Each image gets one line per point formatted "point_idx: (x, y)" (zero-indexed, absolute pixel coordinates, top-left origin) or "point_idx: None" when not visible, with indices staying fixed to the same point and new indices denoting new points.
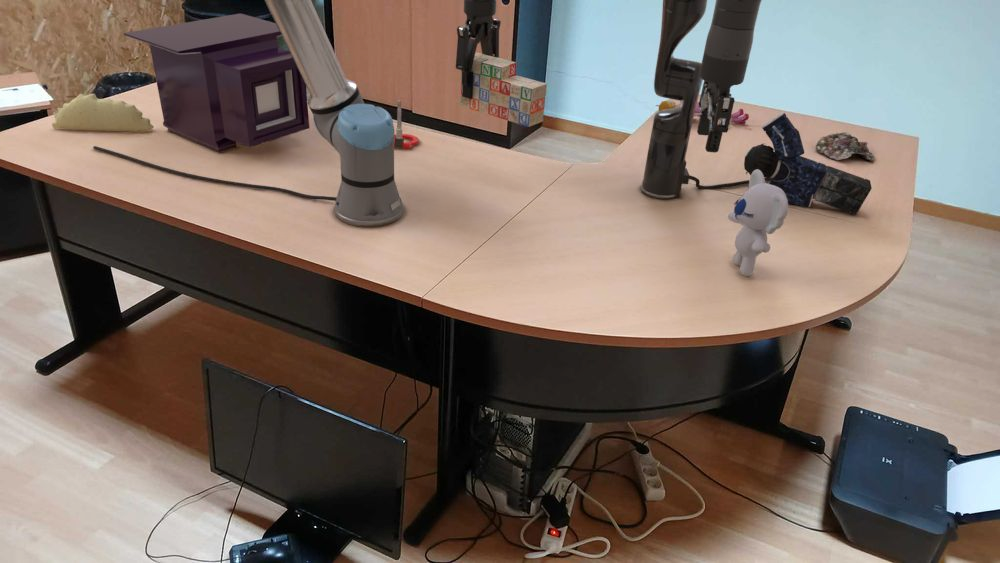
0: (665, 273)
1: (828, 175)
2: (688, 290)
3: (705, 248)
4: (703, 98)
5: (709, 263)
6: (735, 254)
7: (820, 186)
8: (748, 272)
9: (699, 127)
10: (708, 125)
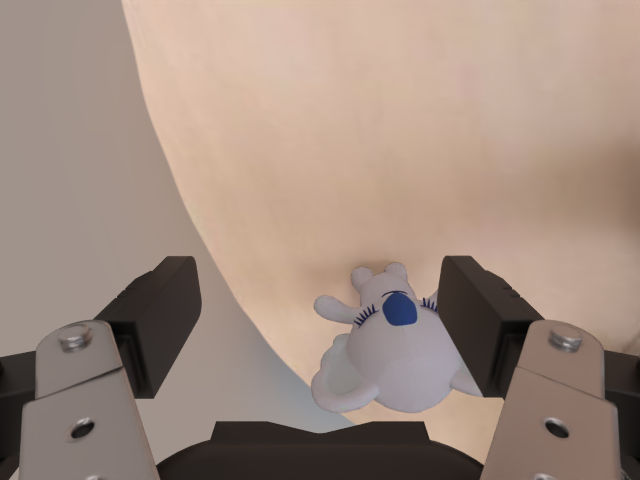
0: (351, 138)
1: (626, 477)
2: (299, 172)
3: (448, 226)
4: (541, 468)
5: (395, 224)
6: (396, 269)
7: None
8: (351, 278)
9: (461, 275)
10: (460, 333)
